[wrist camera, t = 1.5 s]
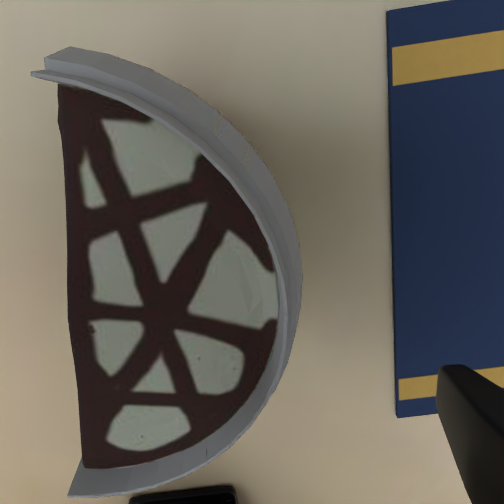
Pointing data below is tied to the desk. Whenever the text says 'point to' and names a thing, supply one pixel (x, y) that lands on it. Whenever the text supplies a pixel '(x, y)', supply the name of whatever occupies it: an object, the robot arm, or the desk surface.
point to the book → (446, 193)
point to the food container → (166, 273)
